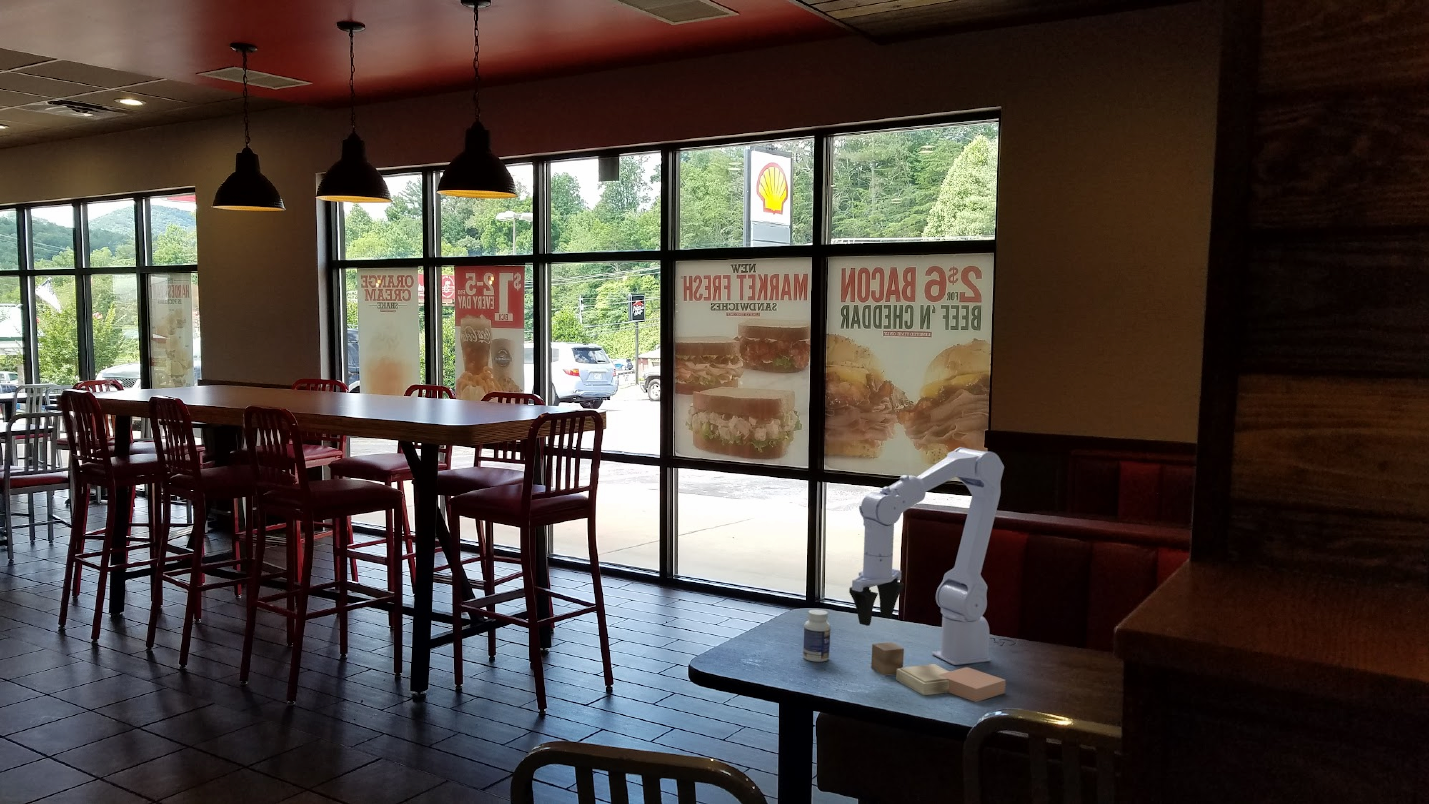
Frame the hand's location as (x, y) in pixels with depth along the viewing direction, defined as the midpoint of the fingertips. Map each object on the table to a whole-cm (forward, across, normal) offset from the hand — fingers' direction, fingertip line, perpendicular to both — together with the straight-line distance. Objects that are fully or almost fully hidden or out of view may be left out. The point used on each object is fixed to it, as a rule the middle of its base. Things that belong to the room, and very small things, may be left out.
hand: (875, 620), depth 202 cm
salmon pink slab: (+10, -4, +19) cm, 22 cm away
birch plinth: (+10, -1, +12) cm, 16 cm away
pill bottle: (+10, +3, -12) cm, 16 cm away
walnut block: (+10, -2, +2) cm, 11 cm away
